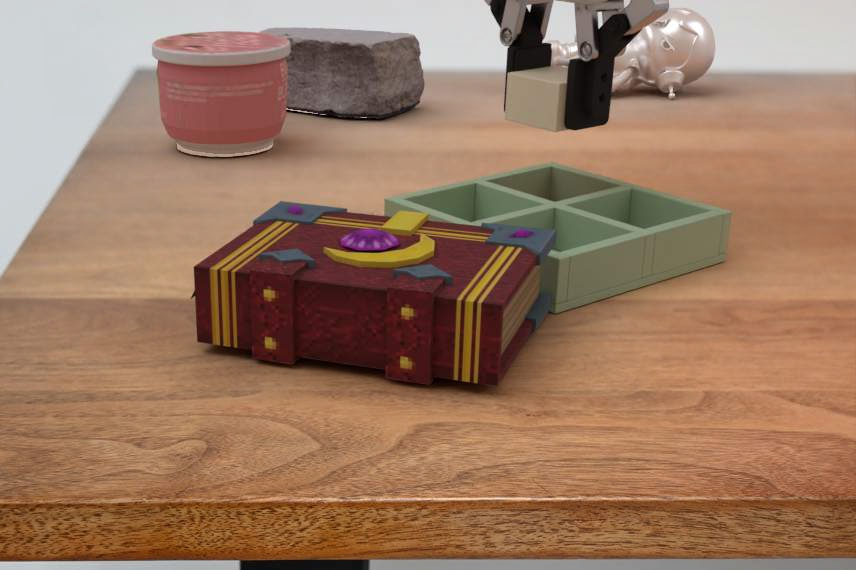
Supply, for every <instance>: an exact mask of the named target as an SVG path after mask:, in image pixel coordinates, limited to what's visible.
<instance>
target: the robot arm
mask: <svg viewBox="0 0 856 570" xmlns="http://www.w3.org/2000/svg"><path fill="white" fill-rule="evenodd" d="M483 1H484V2H485V3H486V4H487V6H488V7H489V8H490V12H491V15H492V16H493V18H494V20H495V21H496V23H497V25H498V27H499V35H498V37H499V41H500V43H501V44H502V45H503V46H504V47H507V50H506V51H507V52H506V67H505V81H504V98H503V112H504V113H505V107H506V91H507V75H508V73H509V72H516V71H523V70H530V69H536V68H543V67H550V66H551V58H552V48H551V45H552V44H551V43H547V42H543V41H544V40H545V38H546V35H547V30H548V26H549V21H550V17H551V13H552V9H553V4H554V1H557V2H563V3H564V2H565V3H571V4H574V6H573V7H574V18H575V19H574V20H575V32H576V33H575V35H577V49H578V55H579V57H580V58H577V59H571V60H570V63H569V65H568V74H567V95H566V107H565V120H564V124H565V127H566V128H567V129H570V131H580V130H585V129H591V128H595V127H603V126H605V125H607V123H609V119H610V111H611V104H612V103H611V102H612V94H613V92H612V83H613V72H614V62H615V57H619V56H622V55H623V54H624V53H625V51H626V46H627V45H628V44H629V43H630V42H631V41H632V40H633V39H634V38H635V37H636V36H637V35H638V34H639V33H640V31H641V30H642V28H644V27H646V26H648V25H649V24H651V23H652V22H654V21H655V20H657V19H658V18H660V17H661V16H663V15H664V14H665V13H666V12H667V11H668V9H670V0H629V3H628V5H626V6H625V0H483ZM529 5H530V9H529V8H528V6H529ZM599 13H601V19H602V20H601V21H602V25H601V26H600V27H599Z"/></svg>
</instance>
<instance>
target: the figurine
mask: <svg viewBox="0 0 856 570" xmlns="http://www.w3.org/2000/svg"><path fill="white" fill-rule="evenodd" d="M546 43H551V44H552V45H551V48H552V58H551V66H556V65H557V66H562V67H567V68H568V65H569V63H570V60H571V59H577V58H580V57H579V55H578V49H577V35H576V34H574V41H573V42H570V43H568V42H564V43H561V42H560V40H559V39H554V40H551V39H549V40H547V41H546ZM715 56H716V40H715V35H714V31H713V28H712V26H711V25H710V23H709V22H708V21H707V19H706V18H705V17H704V16H703V15H701V14H700V13H699V12H697V11H695V10H693V9H691V8H686V7H669V9H668V11H667V12H666V13H665V14H664V15H663V16H661V17H660V18H658V19H657V20H655V21H654V22H652V23H651V24H649V25H648V26H646V27H644V28H642V30H641V31H640V33H639V34H638V35H637V36H636V37H635V38H634V39H633V40H632V41H631V42H630V43H629V44H628V45H627V46H626V51H625V53H624V54H623V55H622V56H619V57H615V62H614V72H613V83H612V93H614V92H616V91H617V90H618V89H619V88H620V87H622V86H623V85H625V84H626V83H627V82H628V84H627V85H626V86H627V87H626V88H627V89H628V90H630V89H632V88H635V87H637V86H638V85H641V84H644V85H646V86H648V87H651V88H652V87H653V88H658V89H659V90H660V91H661V92H662V93H664V94H668V96H667V97H668V99H669V100H674V99H675V98H676V94H675V93H676V92H677V91H678V90H680V89H681V87H682V86H686V85H688V84H691V83H694V82H696V81H697V80H699V79H700V78H702V77H703V76H704V75H705V74H706V73H707V72H708V71H709V69H710V68H711V66H712V65H713V62H714V60H715Z"/></svg>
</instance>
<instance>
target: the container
mask: <svg viewBox="0 0 856 570" xmlns="http://www.w3.org/2000/svg"><path fill="white" fill-rule="evenodd" d="M290 52H291V49H290V41H289V40H288V39H286V38H284V37H281V36H278V35H273V34H266V33H259V32H256V31H255V32H254V31H239V30H237V31H236V30H235V31H233V30H231V31H230V30H229V31H228V30H223V31H222V30H221V31H219V30H218V31H216V30H215V31H198V32H188V33H181V34H174V35H168V36H165V37H161V38H158V39H156V40H155V41H153V42H152V43H151V55H152V57H153V58H154V59H155V60H157V65H156V80H157V92H158V103H159V111H160V120H161V122H162V125H163V127H164V129H165V132H166V133H167V135H168V136H169V137H170V138H171V139H172V140H173V141H175V143H176V142H177V143H178V144H179V145H180V146H181V147H183V148H185V149H188V150H192V151H196V152H197V151H198V152H205V153H213V154H235V153H244V152H252V151H257V150H261V149H264V148H267V147H269V146H270V145H272V143H273V144H274V139H275V138H276V137H277V136H279V134H280V133H281V132H282V129H283V126H284V124H285V121H286V118H287V111H286V106H287V73H288V69H287V64H286V59H285V57H287V56H288V55H289V54H290Z"/></svg>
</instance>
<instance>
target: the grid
mask: <svg viewBox="0 0 856 570" xmlns="http://www.w3.org/2000/svg"><path fill="white" fill-rule="evenodd" d="M383 206H384V209H383V210H384V212H383V216H389V217H393V216H394V215H395V214H396V213H397V212H399V211H408V212H418V213H428V214H429V221H437V222H446V223H456V224H465V225H475V226H481V224H482V223H492V224H503V225H513V226H523V227H534V228H544V229H555V230H557V233H556V244H555V245H554V247H553V248H552V249H551V251H550V252H549V254H548V255H547V257H546V258H545V259H544V261H543V262H542V264H541V270H540V285H539V292H540V293H548V294H552V302H551V308H550V310H549V311H548V313H552V314H554V315H556V314H560V313H562V312H563V313H564V312H566V311H570V310H572V309H576V308H579V307H582V306H584V305H588V304H592V303H595V302H597V301H602V300H604V299H607V298H611V297H615V296H617V295H620V294H621V295H622V294H623V293H627V292H630V291H633V290H636V289H640V288H643V287H646V286H649V285H653V284H656V283H659V282H663V281H666V280H669V279H672V278H675V277H679V276H682V275H685V274H688V273H691V272H695V271H698V270H701V269H704V268H707V267H710V266H714V265H717V264H720V263H724V262H726V261H727V254H728V253H727V252H728V246H729V239H730V230H731V222H732V215H733V210H729V209H725V208H722V207H718V206H715V205H711V204H708V203H707V204H706V203H704V202H700V201H696V200H692V199H690V198H685V197H681V196H678V195H674V194H670V193H667V192H663V191H660V190H656V189H653V188H649V187H645V186H642V185H638V184H634V183H630V182H626V181H623V180H619V179H616V178H612V177H608V176H605V175H601V174H597V173H593V172H590V171H588V170H587V171H586V170H582V169H579V168H575V167H572V166H568V165H564V164H560V163H558V162H555V161H550V162H545V163H540V164H535V165H531V166H530V165H529V166H526V167H523V168H522V167H521V168H517V169H512V170H508V171H502V172H499V173H493V174H489V175H484V176H480V177H476V178H471V179H467V180H461V181H458V182H453V183H448V184H444V185H439V186H435V187H430V188H425V189H420V190H416V191H412V192H407V193H402V194H398V195H397V194H396V195H392V196H388V197H384V205H383Z"/></svg>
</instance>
